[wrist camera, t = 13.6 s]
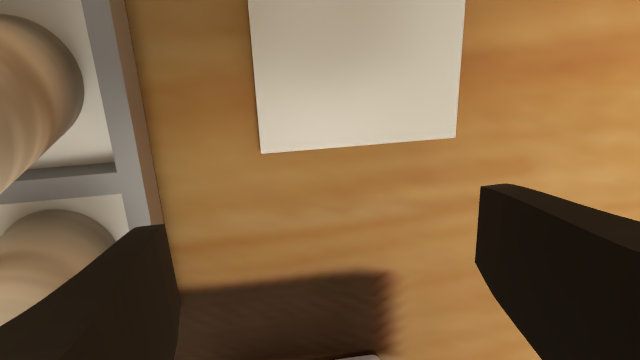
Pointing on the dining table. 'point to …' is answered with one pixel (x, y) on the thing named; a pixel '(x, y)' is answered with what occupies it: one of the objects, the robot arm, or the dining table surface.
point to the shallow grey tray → (92, 126)
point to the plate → (355, 71)
